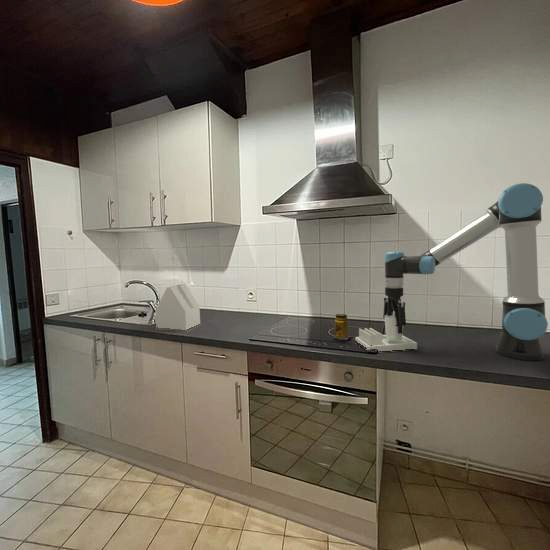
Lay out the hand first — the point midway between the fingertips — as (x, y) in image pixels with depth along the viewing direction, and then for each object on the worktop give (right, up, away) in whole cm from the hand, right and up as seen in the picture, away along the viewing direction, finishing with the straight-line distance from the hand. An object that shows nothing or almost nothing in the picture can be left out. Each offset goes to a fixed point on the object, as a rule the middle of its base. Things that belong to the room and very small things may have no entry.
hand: (393, 337), depth 137 cm
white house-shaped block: (-109, -3, +43) cm, 118 cm away
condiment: (-20, -3, +13) cm, 24 cm away
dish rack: (-4, -4, 0) cm, 6 cm away
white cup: (0, 0, 0) cm, 0 cm away
